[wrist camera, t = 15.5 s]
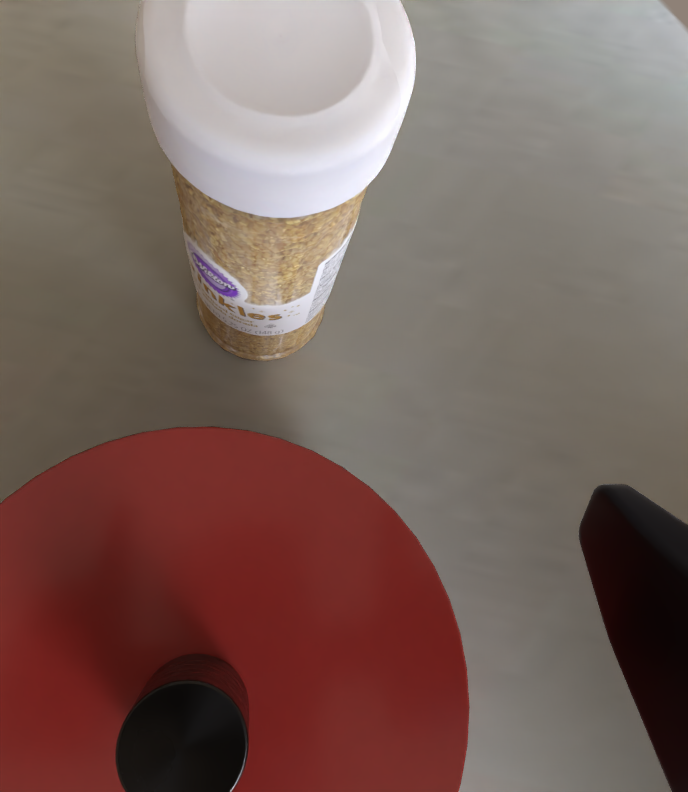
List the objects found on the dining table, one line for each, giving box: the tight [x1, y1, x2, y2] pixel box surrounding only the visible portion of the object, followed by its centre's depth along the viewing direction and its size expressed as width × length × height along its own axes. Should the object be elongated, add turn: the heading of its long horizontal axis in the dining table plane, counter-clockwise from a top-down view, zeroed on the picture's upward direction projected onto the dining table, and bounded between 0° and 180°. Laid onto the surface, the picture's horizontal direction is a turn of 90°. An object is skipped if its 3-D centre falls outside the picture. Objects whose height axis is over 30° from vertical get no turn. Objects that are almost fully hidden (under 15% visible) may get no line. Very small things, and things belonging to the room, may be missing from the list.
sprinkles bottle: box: [135, 0, 416, 361], centre depth 17 cm, size 5×5×13 cm
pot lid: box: [0, 426, 469, 792], centre depth 14 cm, size 13×13×4 cm
